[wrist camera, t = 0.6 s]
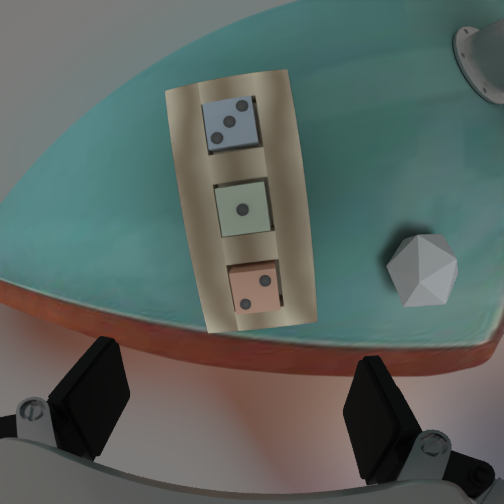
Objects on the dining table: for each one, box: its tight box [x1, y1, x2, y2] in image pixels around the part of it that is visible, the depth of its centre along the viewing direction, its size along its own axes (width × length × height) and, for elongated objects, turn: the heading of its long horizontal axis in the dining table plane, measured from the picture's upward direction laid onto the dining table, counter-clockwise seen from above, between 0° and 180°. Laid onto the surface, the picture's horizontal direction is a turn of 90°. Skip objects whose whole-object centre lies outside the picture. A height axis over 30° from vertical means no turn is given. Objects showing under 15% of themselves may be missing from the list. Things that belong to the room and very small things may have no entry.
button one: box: [215, 181, 270, 237], centre depth 27 cm, size 4×4×3 cm
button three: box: [202, 96, 259, 152], centre depth 25 cm, size 4×4×3 cm
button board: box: [165, 69, 317, 333], centre depth 29 cm, size 12×26×4 cm, turn 8°
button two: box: [229, 259, 280, 315], centre depth 29 cm, size 4×4×3 cm
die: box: [386, 234, 458, 307], centre depth 28 cm, size 8×9×10 cm
